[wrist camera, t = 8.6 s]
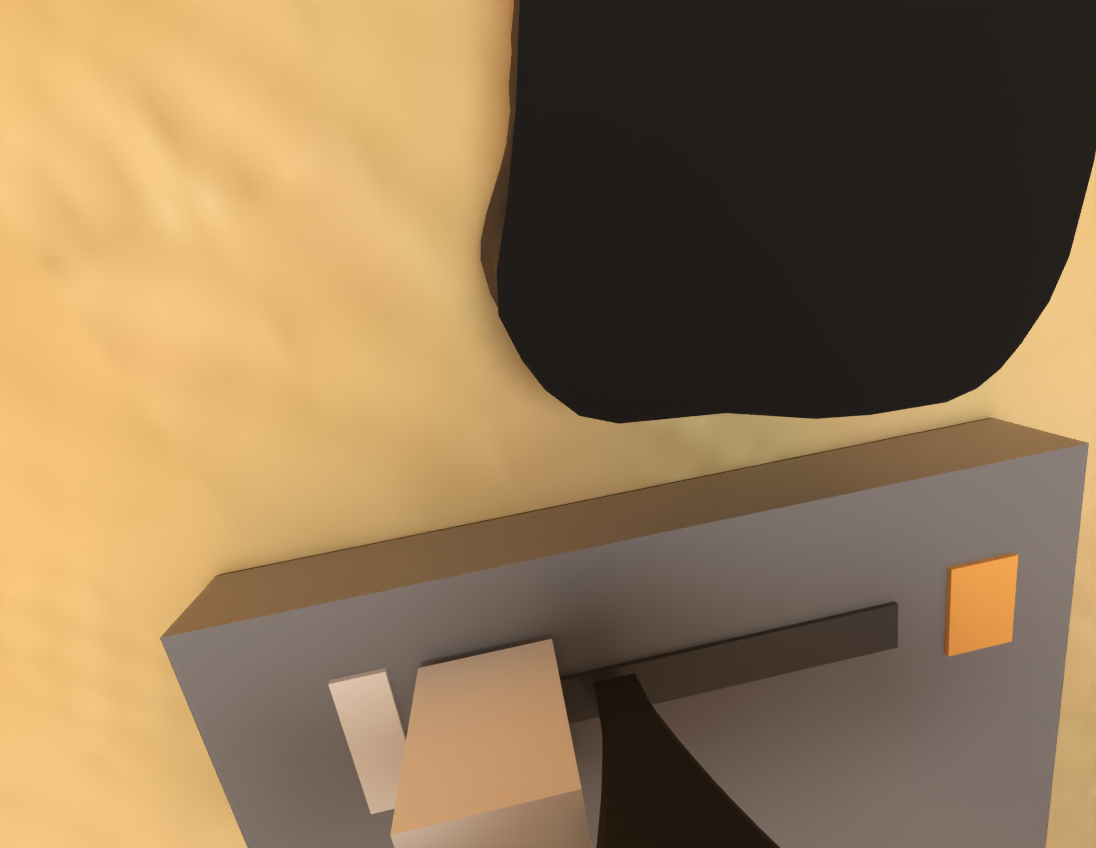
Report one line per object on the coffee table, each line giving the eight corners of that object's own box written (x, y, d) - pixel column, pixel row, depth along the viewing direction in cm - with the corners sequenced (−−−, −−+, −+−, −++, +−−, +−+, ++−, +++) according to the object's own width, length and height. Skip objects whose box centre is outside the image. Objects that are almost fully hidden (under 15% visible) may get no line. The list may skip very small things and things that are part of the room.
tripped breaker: (576, 769, 10) (612, 954, 8) (453, 799, 10) (442, 999, 7) (551, 638, 10) (581, 789, 7) (417, 668, 10) (390, 835, 7)
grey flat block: (966, 874, 16) (1037, 959, 14) (385, 1029, 15) (370, 1148, 13) (992, 417, 12) (1094, 444, 10) (216, 575, 11) (156, 641, 9)
